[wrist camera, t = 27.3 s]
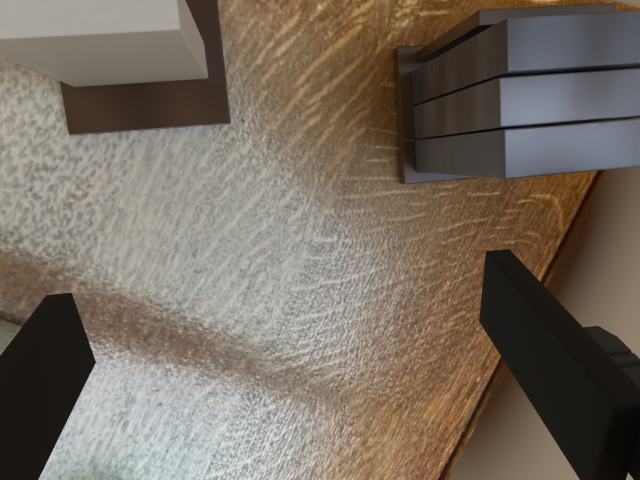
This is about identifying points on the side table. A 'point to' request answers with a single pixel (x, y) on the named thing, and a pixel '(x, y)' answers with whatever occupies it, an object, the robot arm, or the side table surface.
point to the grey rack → (521, 95)
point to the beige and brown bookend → (157, 93)
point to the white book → (103, 40)
